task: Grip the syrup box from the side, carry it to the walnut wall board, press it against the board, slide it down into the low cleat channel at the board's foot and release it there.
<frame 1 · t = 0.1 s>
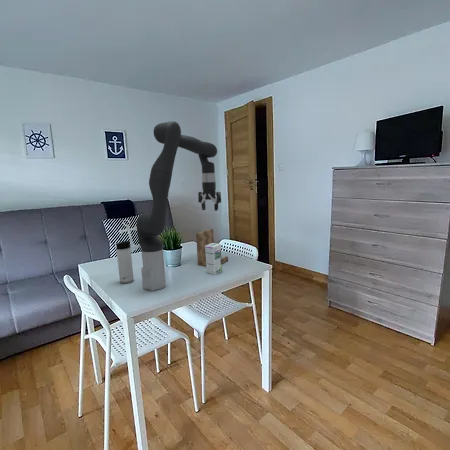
hand: (210, 210, 159), 29 cm above the table, tool pointing down, fingers open, 8 cm apart
syrup box: (214, 272, 143), on the table
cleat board: (213, 263, 157), on the table
travel mug: (127, 282, 134), on the table
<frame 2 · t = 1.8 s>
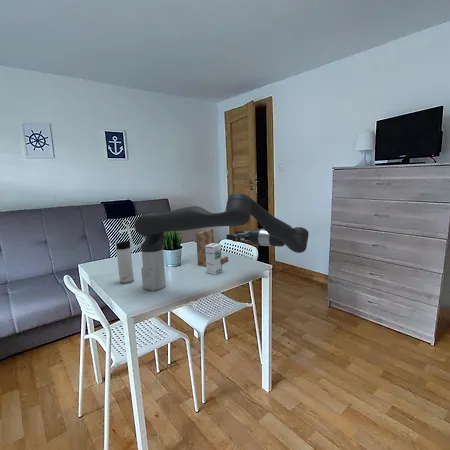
hand: (231, 234, 134), 20 cm above the table, tool horizontal, fingers open, 8 cm apart
nothing on the table moved.
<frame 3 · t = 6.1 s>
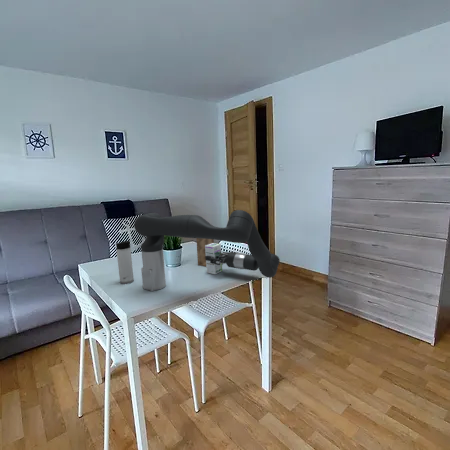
hand: (209, 256, 142), 8 cm above the table, tool horizontal, fingers closed on syrup box, 6 cm apart
syrup box: (214, 272, 143), on the table, touching gripper
everything else where it was.
when the fingers open (10 cm above the table, at t = 13.3 s): syrup box drops 1 cm, resting on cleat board.
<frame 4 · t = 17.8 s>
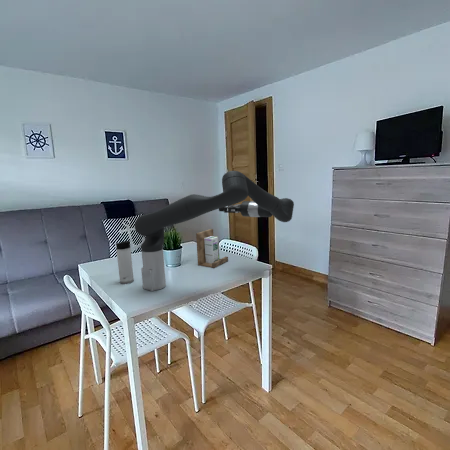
hand: (223, 208, 142), 32 cm above the table, tool horizontal, fingers open, 8 cm apart
syrup box: (212, 262, 157), resting on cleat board
everything else where it was.
at the end: syrup box inside the target area on the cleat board (0.6 cm from its centre), point 0.3 cm above the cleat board's base; syrup box tilted 0°; the gripper is holding nothing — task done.
